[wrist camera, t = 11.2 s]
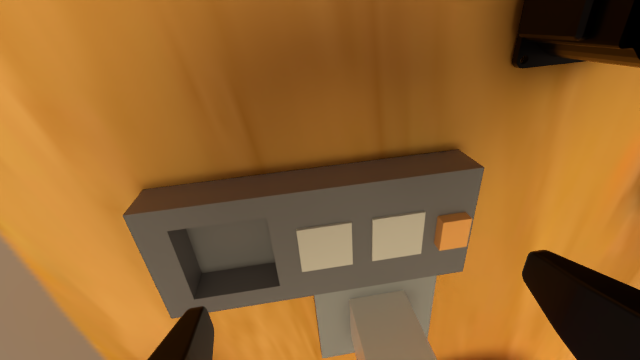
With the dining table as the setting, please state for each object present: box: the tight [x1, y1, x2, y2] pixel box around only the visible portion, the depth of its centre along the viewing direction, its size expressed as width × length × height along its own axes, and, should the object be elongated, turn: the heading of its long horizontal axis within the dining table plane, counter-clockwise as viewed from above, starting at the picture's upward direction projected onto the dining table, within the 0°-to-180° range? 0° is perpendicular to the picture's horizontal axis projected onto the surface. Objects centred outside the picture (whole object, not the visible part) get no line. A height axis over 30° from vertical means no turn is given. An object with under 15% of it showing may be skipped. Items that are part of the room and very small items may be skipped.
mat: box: [314, 275, 437, 358], centre depth 28 cm, size 11×11×1 cm
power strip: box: [123, 150, 484, 318], centre depth 21 cm, size 22×9×4 cm, turn 94°
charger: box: [349, 290, 437, 360], centre depth 25 cm, size 5×5×7 cm
